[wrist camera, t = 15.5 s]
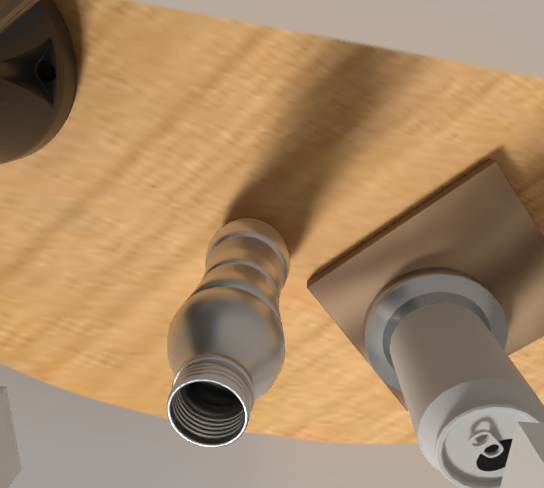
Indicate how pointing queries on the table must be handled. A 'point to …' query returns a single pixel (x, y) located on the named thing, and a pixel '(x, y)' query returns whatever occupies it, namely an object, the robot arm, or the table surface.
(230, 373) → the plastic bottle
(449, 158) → the table surface
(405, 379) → the can
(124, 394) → the table surface
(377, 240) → the board
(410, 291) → the grey hollow ring
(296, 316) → the table surface
